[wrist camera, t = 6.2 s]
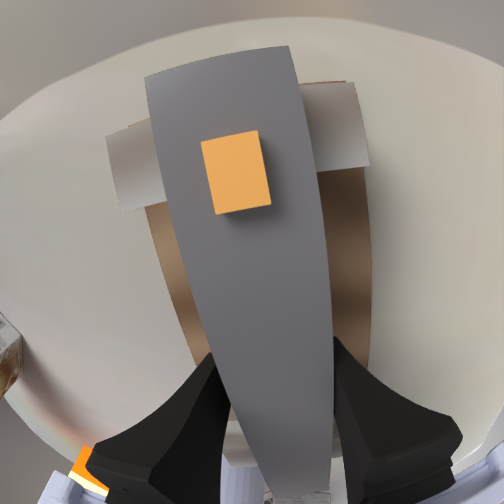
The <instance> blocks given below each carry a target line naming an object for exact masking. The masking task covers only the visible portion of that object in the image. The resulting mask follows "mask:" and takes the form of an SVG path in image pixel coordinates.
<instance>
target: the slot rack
mask: <svg viewBox="0 0 504 504" xmlns="http://www.w3.org/2000/svg"><path fill="white" fill-rule="evenodd" d="M299 88H300V93H301V97H302V101H303V106H304V110H305V115H306V120H307V124H308V129H309V134H310V140H311V145H312V150H313V156H314V162H315V167H316V173H317V180H318V186H319V193H320V200H321V207H322V214H323V222H324V230H325V239H326V248H327V258H328V268H329V280H330V293H331V308H332V326H333V336H336V337H338V339H339V340H340V341H341V343H342V344H343V345H344V346H345V348H346V349H347V350H348V351H349V352H350V353H351V354H352V356H353V357H354V358H355V359H356V360H357V361H358V362H359V363H360V364H361V365H362V366H363V367H364V368H365V369H366V370H367V367H368V355H369V342H370V323H371V252H370V233H369V219H368V207H367V197H366V188H365V180H364V172H363V167H365V166H370V160H369V153H368V147H367V141H366V136H365V130H364V125H363V120H362V115H361V110H360V106H359V101H358V97H357V93H356V89H355V85H354V82H346V81H330V82H316V83H305V84H299ZM106 142H107V148H108V154H109V159H110V165H111V170H112V175H113V179H114V184H115V189H116V193H117V197H118V201H119V206H120V210H121V213H123V212H126V211H130V210H134V209H137V208H141V207H145V211H146V215H147V219H148V223H149V226H150V230H151V234H152V237H153V241H154V245H155V248H156V252H157V255H158V258H159V262H160V265H161V268H162V272H163V275H164V278H165V281H166V284H167V287H168V290H169V293H170V296H171V299H172V302H173V305H174V308H175V311H176V314H177V316H178V319H179V322H180V325H181V327H182V330H183V333H184V335H185V338H186V341H187V343H188V346H189V348H190V351H191V353H192V356H193V358H194V361H195V363H196V366H197V367H198V365H199V364H200V363H201V362H202V360H203V359H204V358H205V357H206V355H207V354H208V353H209V352H211V350H210V347H209V344H208V341H207V338H206V335H205V332H204V329H203V326H202V323H201V320H200V317H199V314H198V311H197V308H196V305H195V301H194V298H193V295H192V292H191V288H190V285H189V282H188V278H187V275H186V272H185V268H184V265H183V261H182V257H181V254H180V250H179V247H178V243H177V239H176V235H175V231H174V227H173V224H172V220H171V216H170V211H169V207H168V203H167V199H166V195H165V190H164V186H163V181H162V177H161V172H160V167H159V162H158V157H157V152H156V147H155V142H154V136H153V131H152V125H151V119H150V118H148V119H145V120H143V121H140V122H137V123H135V124H132V125H129V126H128V128H126V129H124V130H121V131H119V132H116V133H114V134H112V135H109V136H107V137H106ZM222 453H223V455H224V456H225V458H226V459H227V461H228V462H229V464H230V465H231V467H254V466H258V465H257V462H256V460H255V458H254V456H253V454H252V452H251V449H250V447H249V445H248V443H247V440H246V438H245V436H244V434H243V431H242V429H241V427H240V424H239V422H238V420H237V417H236V415H235V412H234V410H233V408H232V405H231V408H230V413H229V419H228V423H227V428H226V433H225V438H224V444H223V451H222ZM341 456H343V455H342V448H341V442H340V436H339V432H338V428H337V425H336V421H335V418H334V414H333V437H332V454H331V458H336V457H341Z"/></svg>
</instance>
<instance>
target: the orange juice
mask: <svg viewBox="0 0 504 504" xmlns="http://www.w3.org/2000/svg"><path fill="white" fill-rule="evenodd" d="M91 452H92V450H91V449H89V448H88V447H86V446H85V445H84V447H83V449H82V451H81V453H80V455H79V457H78V459H77V461H76V462H75V464H74V466H73V468H72V470H71V472H70V474H69V476H68V477H70V478H72V479H74V480H75V481H77V482H78V483H79V484H81V485H82V486H83V487H84V488H86V489H89V490H91V491H93V492H96V493H98V494H101V495H104V496H107V494H108V491H109V488H107V487H106V486H105V485H103V484H102V483H101V482H99V481H98V480H97V479H95V478H94V477H93V476H92V475H91V474H90V473H89V472H88V471H87V470H86V468H85V464H86V462H87V460H88V458H89V456H90V454H91Z"/></svg>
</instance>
